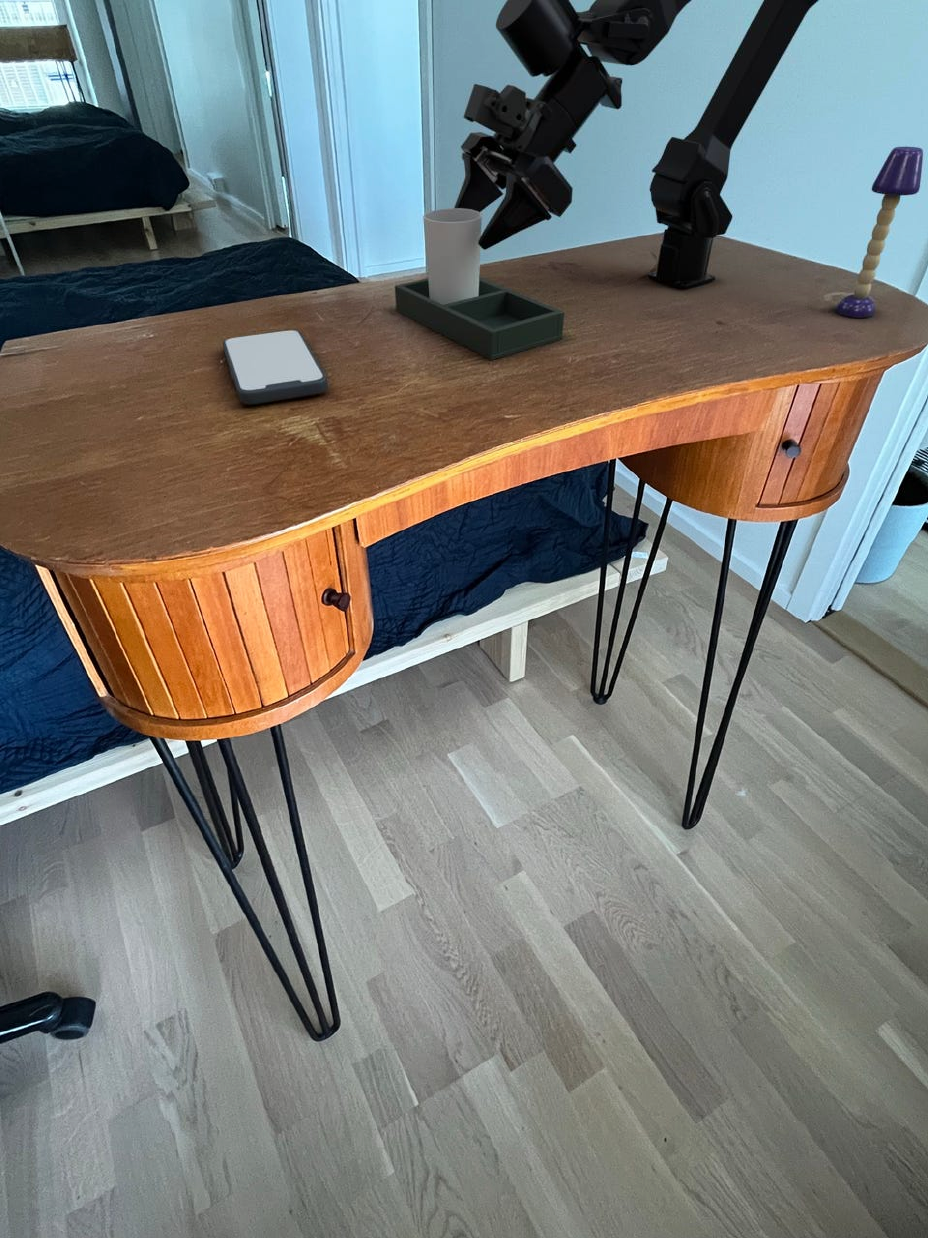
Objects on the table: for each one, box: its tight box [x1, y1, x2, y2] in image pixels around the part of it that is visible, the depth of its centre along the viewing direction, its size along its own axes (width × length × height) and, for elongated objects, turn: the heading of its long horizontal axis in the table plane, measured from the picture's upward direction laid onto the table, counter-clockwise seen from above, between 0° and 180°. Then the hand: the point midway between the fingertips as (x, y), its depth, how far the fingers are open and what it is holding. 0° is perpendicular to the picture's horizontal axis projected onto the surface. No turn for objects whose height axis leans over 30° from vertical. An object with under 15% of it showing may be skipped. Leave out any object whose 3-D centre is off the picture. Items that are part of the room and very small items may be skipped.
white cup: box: [422, 207, 483, 305], centre depth 83 cm, size 7×7×10 cm
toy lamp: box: [835, 146, 924, 319], centre depth 80 cm, size 5×5×17 cm
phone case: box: [222, 329, 329, 406], centre depth 74 cm, size 9×2×16 cm
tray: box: [394, 276, 565, 361], centre depth 83 cm, size 10×19×3 cm, turn 36°
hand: (465, 236), depth 82 cm, fingers open, 9 cm apart
